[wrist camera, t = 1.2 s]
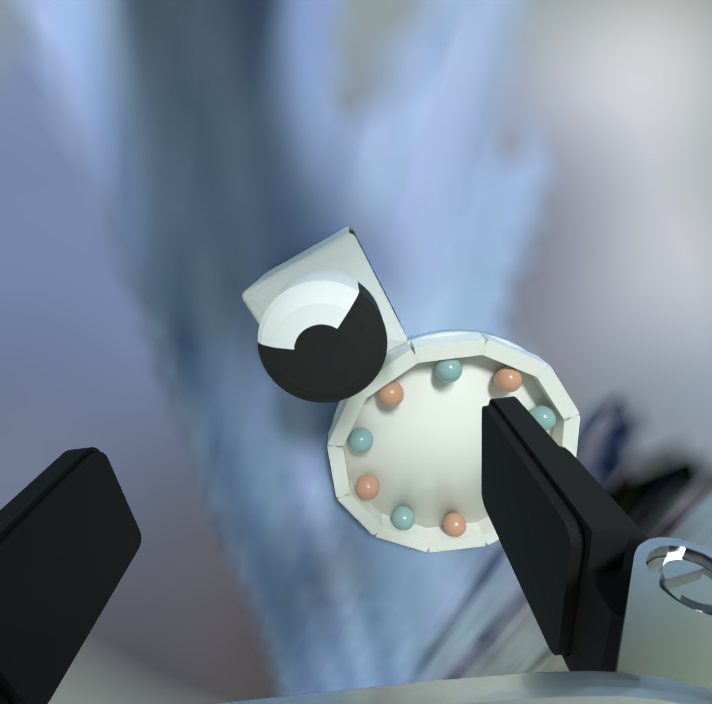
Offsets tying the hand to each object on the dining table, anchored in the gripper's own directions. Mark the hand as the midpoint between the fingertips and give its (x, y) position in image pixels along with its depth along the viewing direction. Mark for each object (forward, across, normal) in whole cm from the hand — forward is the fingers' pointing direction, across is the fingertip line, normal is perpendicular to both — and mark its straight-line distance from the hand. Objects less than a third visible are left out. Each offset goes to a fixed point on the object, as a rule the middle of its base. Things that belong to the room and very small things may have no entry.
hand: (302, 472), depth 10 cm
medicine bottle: (+20, 0, 0) cm, 20 cm away
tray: (+20, -8, +14) cm, 26 cm away
